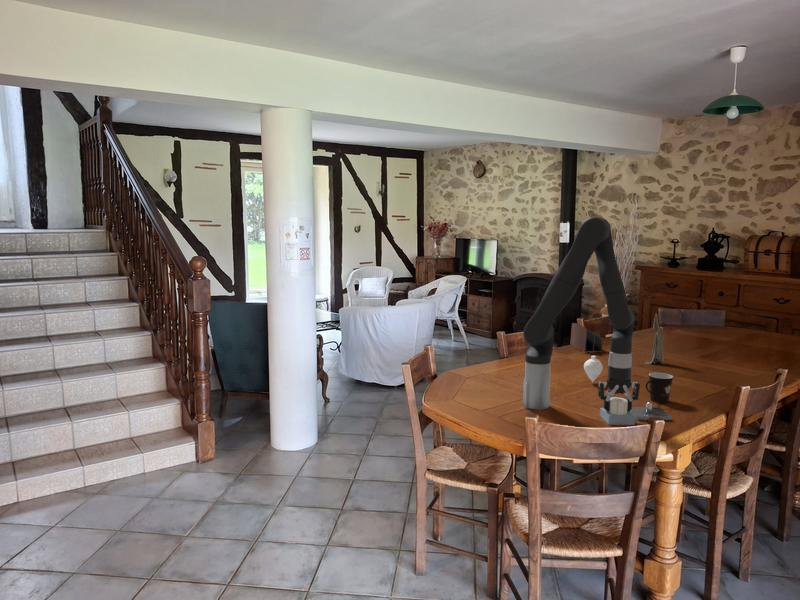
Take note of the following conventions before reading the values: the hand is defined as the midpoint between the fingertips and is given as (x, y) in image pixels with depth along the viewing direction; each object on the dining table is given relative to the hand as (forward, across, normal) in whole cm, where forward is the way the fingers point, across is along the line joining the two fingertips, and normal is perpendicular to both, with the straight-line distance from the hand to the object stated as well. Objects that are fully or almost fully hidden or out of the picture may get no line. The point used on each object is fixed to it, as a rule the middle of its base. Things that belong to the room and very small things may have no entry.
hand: (617, 410), depth 198 cm
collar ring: (0, 0, 0) cm, 0 cm away
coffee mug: (+4, +23, +23) cm, 33 cm away
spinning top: (+4, +6, +47) cm, 48 cm away
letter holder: (+4, +23, +115) cm, 117 cm away
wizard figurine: (+4, +48, +83) cm, 96 cm away
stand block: (+3, 0, 0) cm, 3 cm away
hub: (+3, +13, +5) cm, 14 cm away
